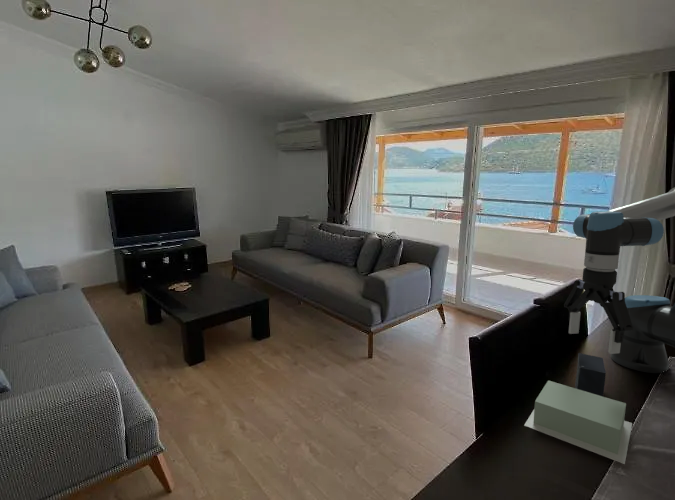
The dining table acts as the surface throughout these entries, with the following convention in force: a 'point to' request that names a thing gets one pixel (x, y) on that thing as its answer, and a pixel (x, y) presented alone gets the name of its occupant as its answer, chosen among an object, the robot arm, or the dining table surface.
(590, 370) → the small box
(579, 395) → the base brick
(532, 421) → the baseplate
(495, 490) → the dining table surface
